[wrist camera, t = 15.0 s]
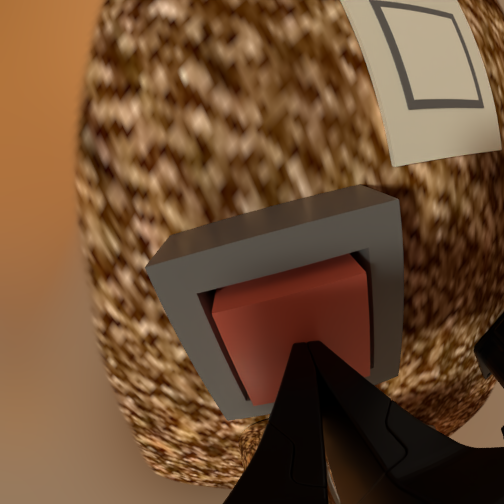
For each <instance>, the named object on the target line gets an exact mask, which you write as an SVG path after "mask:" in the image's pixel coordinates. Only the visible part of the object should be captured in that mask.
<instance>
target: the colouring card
mask: <svg viewBox="0 0 504 504" xmlns="http://www.w3.org/2000/svg"><path fill="white" fill-rule="evenodd" d="M340 1H341V3H342V5H343V7H344V9H345V12H346V14H347V16H348V18H349V21H350V23H351V25H352V28H353V30H354V32H355V35H356V37H357V40H358V43H359V45H360V48H361V50H362V53H363V56H364V59H365V62H366V65H367V68H368V71H369V74H370V77H371V80H372V83H373V86H374V90H375V93H376V97H377V100H378V104H379V108H380V112H381V116H382V120H383V124H384V128H385V133H386V137H387V142H388V147H389V152H390V157H391V163H392V166H394V167H398V166H403V165H408V164H413V163H419V162H424V161H430V160H436V159H442V158H448V157H454V156H461V155H468V154H475V153H482V152H490V151H498V150H502V147H501V139H500V132H499V126H498V120H497V115H496V110H495V105H494V101H493V96H492V92H491V88H490V84H489V81H488V77H487V74H486V70H485V67H484V64H483V61H482V58H481V55H480V52H479V49H478V47H477V44H476V41H475V39H474V36H473V34H472V31H471V29H470V27H469V24H468V22H467V20H466V18H465V16H464V14H463V11H462V9H461V7H460V5H459V3H458V2H457V0H340Z"/></svg>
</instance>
